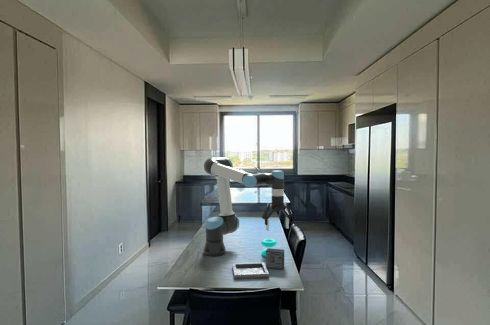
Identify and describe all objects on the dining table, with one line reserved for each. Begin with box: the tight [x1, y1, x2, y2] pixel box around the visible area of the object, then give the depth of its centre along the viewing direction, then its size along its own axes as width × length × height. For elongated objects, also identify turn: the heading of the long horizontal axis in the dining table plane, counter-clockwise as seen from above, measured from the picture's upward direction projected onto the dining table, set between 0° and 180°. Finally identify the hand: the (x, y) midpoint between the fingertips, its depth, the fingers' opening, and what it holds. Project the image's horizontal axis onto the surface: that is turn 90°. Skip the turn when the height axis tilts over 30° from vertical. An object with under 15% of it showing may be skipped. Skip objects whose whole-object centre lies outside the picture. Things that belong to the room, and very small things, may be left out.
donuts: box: [261, 238, 277, 258], centre depth 214 cm, size 10×10×10 cm
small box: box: [265, 247, 285, 271], centre depth 193 cm, size 11×6×10 cm, turn 74°
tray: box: [232, 261, 270, 280], centre depth 185 cm, size 19×17×2 cm
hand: (277, 229), depth 202 cm, fingers open, 13 cm apart
